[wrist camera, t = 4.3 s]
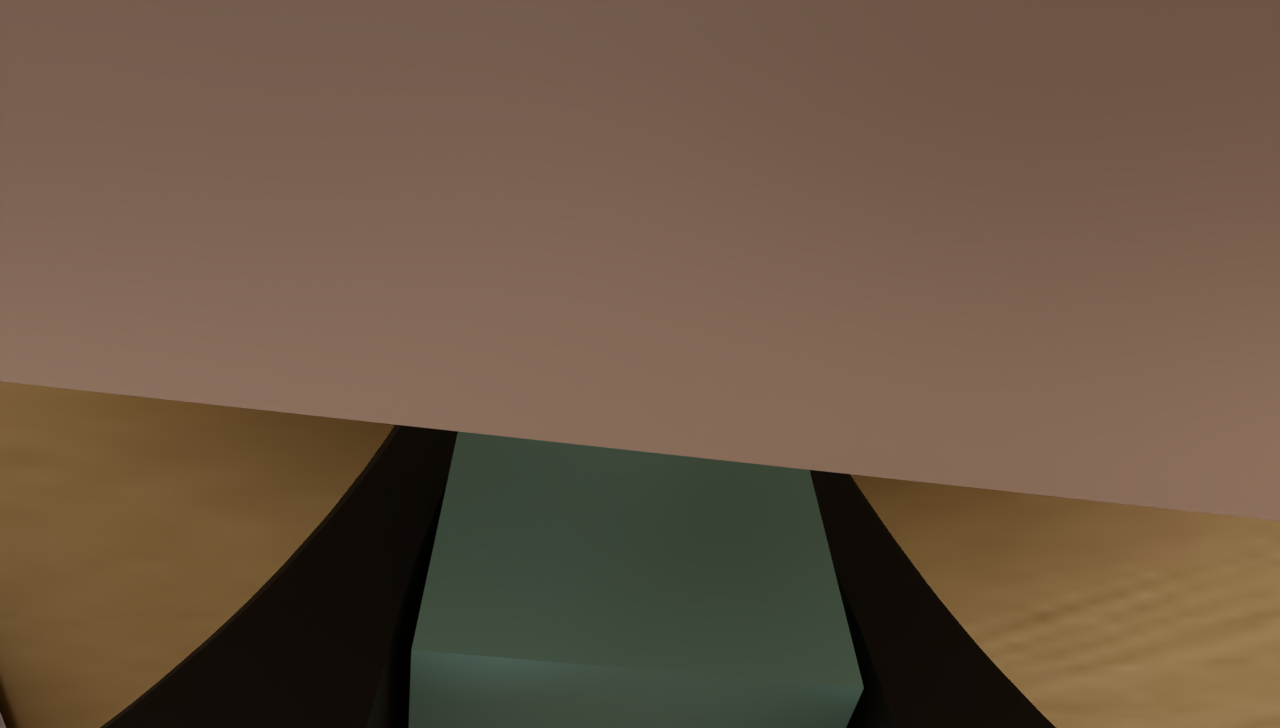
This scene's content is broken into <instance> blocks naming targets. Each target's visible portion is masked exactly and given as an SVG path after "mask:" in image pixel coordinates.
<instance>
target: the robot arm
mask: <svg viewBox="0 0 1280 728" xmlns="http://www.w3.org/2000/svg"><path fill="white" fill-rule="evenodd" d="M457 434H458V431H450V430H441V429H432V428H422V427H413V426H404V425H395V426H394V427H393V429H392V430H391V432H390V433H389V435H388V436H387V438H386V439H385V441H384V442H383V444H382V445H381V447H380V448H379V449H378V451H377V452H376V453H375V455H374V456H373V458H372V459H371V460H370V462H369V463H368V465H367V466H366V467H365V469H364V470H363V471H362V472H361V474H360V475H359V476H358V478H357V479H356V480H355V481H354V483H353V484H352V485H351V486H350V488H349V489H348V490H347V492H346V493H345V494H344V495H343V497H342V498H341V499H340V500H339V502H338V503H337V504H336V505H335V507H334V508H333V509H332V510H331V512H330V513H329V514H328V515H327V516H326V518H325V519H324V520H323V521H322V522H321V523H320V525H319V526H318V527H317V528H316V529H315V530H314V531H313V532H312V533H311V535H310V536H309V537H308V538H307V539H306V540H305V541H304V542H303V543H302V545H301V546H300V547H299V548H298V549H297V550H296V551H295V552H294V554H293V555H292V556H291V557H290V558H289V559H288V560H287V561H286V562H285V564H284V565H283V566H282V567H281V568H280V569H279V570H278V571H277V572H276V573H275V574H274V575H273V576H272V577H271V578H270V579H269V580H268V581H267V582H266V584H265V585H264V586H263V587H262V588H261V589H260V590H259V591H258V592H257V593H256V594H255V595H254V596H253V597H252V598H251V599H250V600H249V601H248V602H247V603H246V604H245V605H244V606H243V607H241V608H240V609H239V610H238V611H237V612H236V613H235V614H234V615H233V616H232V617H231V618H230V619H229V620H228V621H227V622H226V623H224V624H223V625H222V626H221V627H220V628H219V629H218V630H217V631H216V632H215V633H214V634H213V635H212V636H211V637H209V638H208V639H207V640H206V641H205V642H204V643H203V644H202V645H200V646H199V647H198V648H197V649H196V650H195V651H193V652H192V653H191V654H190V655H189V656H188V657H186V658H185V659H184V660H183V661H182V662H181V663H180V664H178V665H177V666H176V667H175V668H174V669H173V670H171V671H170V672H169V673H168V674H167V675H166V676H165V677H163V678H162V679H161V680H160V681H159V682H158V683H156V684H155V685H154V686H153V687H151V688H150V689H149V690H148V691H147V692H145V693H144V694H143V695H142V696H140V697H139V698H138V699H137V700H136V701H134V702H133V703H132V704H131V705H129V706H128V707H127V708H125V709H124V710H123V711H122V712H120V713H119V714H118V715H116V716H115V717H114V718H112V719H111V720H110V721H108V722H107V723H106V724H104V725H103V726H102V727H100V728H409V700H410V673H411V649H412V645H413V640H414V635H415V631H416V626H417V621H418V616H419V612H420V607H421V602H422V598H423V593H424V588H425V584H426V579H427V574H428V570H429V565H430V560H431V556H432V551H433V546H434V542H435V537H436V532H437V527H438V523H439V518H440V513H441V509H442V504H443V499H444V495H445V490H446V485H447V481H448V476H449V471H450V467H451V462H452V457H453V453H454V448H455V443H456V438H457ZM810 474H811V478H812V482H813V486H814V490H815V494H816V498H817V502H818V506H819V510H820V514H821V518H822V522H823V526H824V530H825V534H826V538H827V542H828V546H829V550H830V554H831V558H832V562H833V566H834V570H835V574H836V578H837V582H838V586H839V590H840V594H841V598H842V602H843V606H844V610H845V614H846V618H847V622H848V626H849V630H850V634H851V638H852V642H853V646H854V651H855V655H856V659H857V663H858V667H859V671H860V675H861V679H862V683H863V687H864V689H863V691H862V693H861V696H860V698H859V700H858V702H857V705H856V707H855V709H854V711H853V713H852V716H851V718H850V720H849V722H848V725H847V727H846V728H1056V727H1055V726H1054V725H1053V724H1052V723H1051V722H1049V721H1048V720H1047V719H1046V718H1045V717H1044V716H1043V715H1042V714H1041V713H1040V712H1039V711H1038V709H1037V708H1036V707H1035V706H1034V705H1033V704H1032V703H1031V702H1030V701H1029V700H1028V699H1027V698H1026V697H1025V696H1024V695H1023V694H1022V693H1021V692H1020V691H1019V690H1018V688H1017V687H1016V686H1015V685H1014V684H1013V683H1012V682H1011V681H1010V680H1009V679H1008V678H1007V677H1006V676H1005V675H1004V674H1003V673H1002V672H1001V671H1000V670H999V668H998V667H997V666H996V665H995V664H994V663H993V662H992V661H991V660H990V659H989V657H988V656H987V655H986V654H985V653H984V652H983V651H982V650H981V648H980V647H979V646H978V645H977V644H976V643H975V642H974V640H973V639H972V638H971V637H970V636H969V634H968V633H967V632H966V631H965V630H964V628H963V627H962V626H961V625H960V624H959V622H958V621H957V620H956V619H955V618H954V616H953V615H952V614H951V613H950V611H949V610H948V609H947V608H946V607H945V605H944V604H943V603H942V602H941V601H940V599H939V598H938V597H937V595H936V594H935V593H934V592H933V590H932V589H931V588H930V586H929V585H928V584H927V583H926V581H925V580H924V579H923V577H922V576H921V575H920V573H919V572H918V570H917V569H916V568H915V566H914V565H913V564H912V562H911V561H910V560H909V558H908V557H907V556H906V554H905V553H904V551H903V550H902V549H901V547H900V546H899V545H898V543H897V542H896V541H895V539H894V538H893V536H892V535H891V534H890V532H889V531H888V529H887V528H886V527H885V525H884V524H883V522H882V521H881V519H880V518H879V517H878V515H877V514H876V512H875V511H874V509H873V508H872V506H871V505H870V503H869V502H868V500H867V499H866V498H865V496H864V495H863V493H862V492H861V490H860V489H859V487H858V486H857V484H856V483H855V481H854V480H853V478H852V477H851V475H850V474H844V473H834V472H825V471H816V470H810ZM0 728H6V726H5V723H4V721H3V718H2V716H1V713H0Z"/></svg>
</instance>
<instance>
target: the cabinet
mask: <svg viewBox="0 0 1280 728" xmlns="http://www.w3.org/2000/svg"><path fill="white" fill-rule="evenodd" d="M0 381H1V382H10V383H20V384H29V385H38V386H47V387H56V388H65V389H75V390H84V391H93V392H102V393H111V394H120V395H129V396H139V397H148V398H157V399H166V400H175V401H184V402H194V403H203V404H212V405H221V406H230V407H239V408H248V409H258V410H267V411H276V412H285V413H294V414H303V415H313V416H322V417H331V418H340V419H349V420H358V421H368V422H377V423H386V424H395V425H404V426H413V427H422V428H432V429H441V430H450V431H459V432H468V433H477V434H487V435H496V436H505V437H514V438H523V439H532V440H541V441H551V442H560V443H569V444H578V445H587V446H596V447H606V448H615V449H624V450H633V451H642V452H651V453H661V454H670V455H679V456H688V457H697V458H706V459H715V460H725V461H734V462H743V463H752V464H761V465H770V466H780V467H789V468H798V469H807V470H816V471H825V472H834V473H844V474H853V475H862V476H871V477H880V478H889V479H899V480H908V481H917V482H926V483H935V484H944V485H953V486H963V487H972V488H981V489H990V490H999V491H1008V492H1018V493H1027V494H1036V495H1045V496H1054V497H1063V498H1073V499H1082V500H1091V501H1100V502H1109V503H1118V504H1127V505H1137V506H1146V507H1155V508H1164V509H1173V510H1182V511H1192V512H1201V513H1210V514H1219V515H1228V516H1237V517H1246V518H1256V519H1265V520H1274V521H1280V0H0Z"/></svg>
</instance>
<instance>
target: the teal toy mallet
mask: <svg viewBox="0 0 1280 728" xmlns="http://www.w3.org/2000/svg"><path fill="white" fill-rule="evenodd" d="M863 689H864V687H863V683H862V679H861V675H860V671H859V667H858V663H857V659H856V655H855V651H854V646H853V642H852V638H851V634H850V630H849V626H848V622H847V618H846V614H845V610H844V606H843V602H842V598H841V594H840V590H839V586H838V582H837V578H836V574H835V570H834V566H833V562H832V558H831V554H830V550H829V546H828V542H827V538H826V534H825V530H824V526H823V522H822V518H821V514H820V510H819V506H818V502H817V498H816V494H815V490H814V486H813V482H812V478H811V474H810V470H807V469H798V468H789V467H780V466H770V465H761V464H752V463H743V462H734V461H725V460H715V459H706V458H697V457H688V456H679V455H670V454H661V453H651V452H642V451H633V450H624V449H615V448H606V447H596V446H587V445H578V444H569V443H560V442H551V441H541V440H532V439H523V438H514V437H505V436H496V435H487V434H477V433H468V432H459V431H458V434H457V438H456V443H455V448H454V453H453V457H452V462H451V467H450V471H449V476H448V481H447V485H446V490H445V495H444V499H443V504H442V509H441V513H440V518H439V523H438V527H437V532H436V537H435V542H434V546H433V551H432V556H431V560H430V565H429V570H428V574H427V579H426V584H425V588H424V593H423V598H422V602H421V607H420V612H419V616H418V621H417V626H416V631H415V635H414V640H413V645H412V649H411V673H410V700H409V728H846V727H847V725H848V722H849V720H850V718H851V716H852V713H853V711H854V709H855V707H856V705H857V702H858V700H859V698H860V696H861V693H862V691H863Z"/></svg>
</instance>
